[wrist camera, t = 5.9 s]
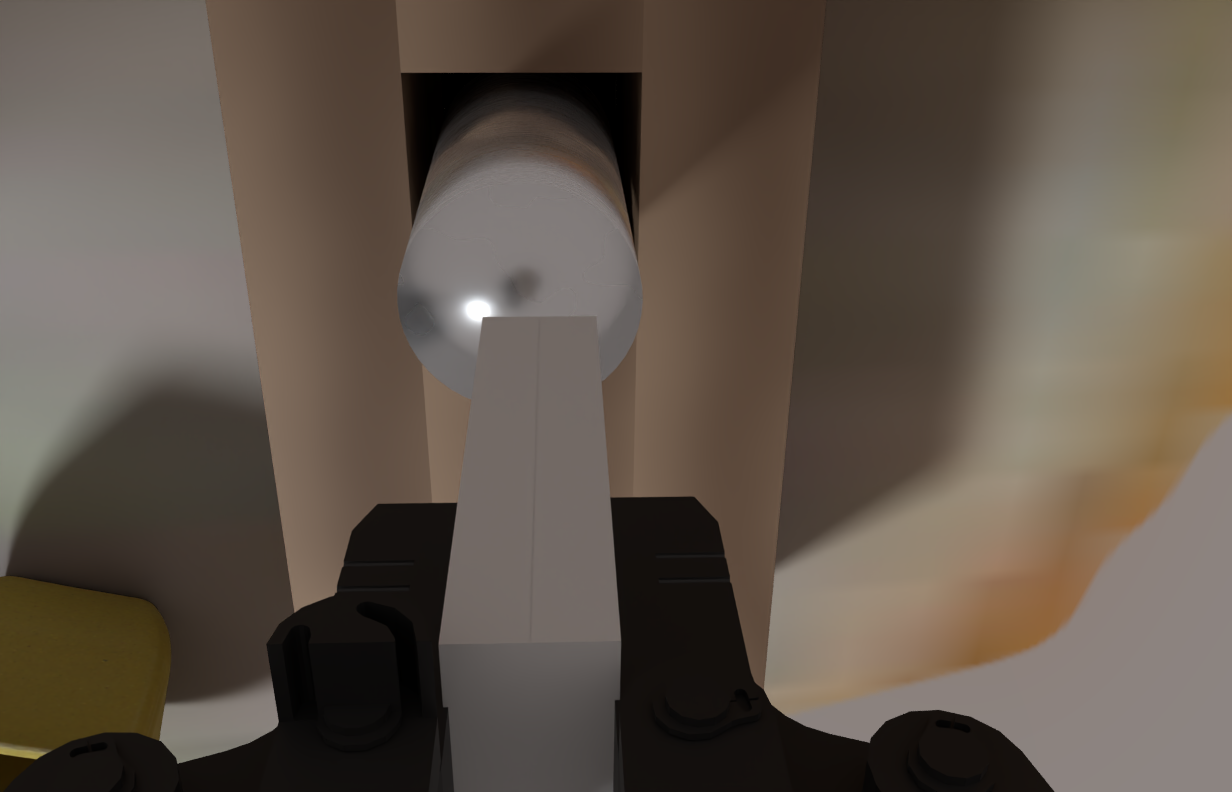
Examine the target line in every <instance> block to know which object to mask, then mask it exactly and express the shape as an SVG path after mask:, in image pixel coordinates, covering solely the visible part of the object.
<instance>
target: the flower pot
mask: <svg viewBox="0 0 1232 792" xmlns="http://www.w3.org/2000/svg"><path fill="white" fill-rule="evenodd" d="M170 667H171V643H170V636H169V632H168V629H167V626H166V624H165V622H164V619H163V617H162V616H161V614H160V612H159V611H158V610H157V608H156V607H155V606H154V605H153V604H152V603H150V602H148V601H146V600H143V599H139V598H134V597H127V596H122V595H116V594H110V593H104V592H98V591H93V590H87V589H81V588H75V587H69V586H64V585H59V584H54V583H48V582H42V581H37V580H32V579H26V578H22V577H16V576H3V577H0V792H3V791H4V790H5V789H6V788H7V787H8V785H9V784H10V783H11V782H12V781H13V780H14V779H15V778H16V777H17V776H18V775H19V774H20V773H22V772H23V771H24V770H25V769H26V768H27V767H29V766H30V765H31V764H32V763H33V762H34V761H35V760H37V759H38V758H39V757H40V756H42V755H44V754H46V753H48V752H50V751H52V750H54V749H56V748H58V747H60V746H62V745H64V744H66V743H68V742H70V741H72V740H76V739H80V738H84V737H88V736H92V735H96V734H100V733H104V732H132V733H139V734H142V735H144V736H147V737H150V738H153V739H156V740H158V741H159V738H160V731H161V724H162V718H163V712H164V705H165V699H166V693H167V687H168V681H169V675H170Z"/></svg>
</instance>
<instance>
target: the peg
mask: <svg viewBox="0 0 1232 792" xmlns="http://www.w3.org/2000/svg"><path fill="white" fill-rule="evenodd" d="M642 303H643V295H642V283H641V278H640V272H639V267H638V262H637V257H636V252H635V247H634V242H633V237H632V232H631V227H630V222H629V217H628V213H627V208H626V203H625V198H624V193H623V188H622V183H621V178H620V173H619V168H618V163H617V158H616V153H615V148H614V143H613V138H612V133H611V128H610V124H609V121H608V118H607V115H606V113H605V111H604V109H603V107H602V105H601V104H600V102H599V101H598V99H597V98H596V96H595V95H594V94H593V93H592V92H591V91H590V89H589V88H588V87H587V86H586V85H584V84H583V83H582V82H581V81H580V80H579V79H577V78H576V77H574V76H573V75H571V74H570V73H480V74H479V75H477V76H476V77H474V78H473V79H471V80H470V81H469V82H468V83H467V84H466V85H465V86H464V87H463V88H462V89H461V90H460V91H459V92H458V94H457V95H456V96H455V97H454V99H453V101H452V102H451V104H450V106H449V108H448V110H447V112H446V114H445V117H444V120H443V124H442V127H441V131H440V134H439V138H438V141H437V144H436V148H435V151H434V155H433V158H432V162H431V165H430V169H429V172H428V176H427V179H426V183H425V186H424V189H423V193H422V196H421V200H420V203H419V207H418V210H417V214H416V217H415V221H414V224H413V228H412V231H411V235H410V238H409V241H408V245H407V248H406V252H405V255H404V259H403V262H402V266H401V269H400V273H399V279H398V287H397V304H398V311H399V317H400V321H401V324H402V328H403V331H404V334H405V336H406V338H407V340H408V342H409V345H410V347H411V348H412V350H413V351H414V353H415V355H416V356H417V358H418V359H419V360H420V362H421V363H422V364H423V365H424V366H425V368H426V369H427V370H428V371H429V372H430V373H431V374H432V375H433V376H434V377H435V378H437V379H438V380H439V381H440V382H441V383H443V384H444V385H446V386H447V387H448V388H450V389H451V390H453V391H455V392H457V393H458V394H460V395H462V396H464V397H466V398H468V399H472V392H473V384H474V377H475V369H476V362H477V355H478V347H479V340H480V332H481V325H482V317H546V316H597V330H598V343H599V356H600V369H601V382H602V381H603V380H605V379H606V378H607V377H608V376H609V375H610V374H611V373H612V372H613V371H614V370H615V369H616V368H617V367H618V365H619V364H620V363H621V361H622V360H623V359H624V357H625V356H626V354H627V352H628V351H629V349H630V347H631V345H632V343H633V341H634V338H635V336H636V333H637V331H638V327H639V323H640V319H641V314H642Z"/></svg>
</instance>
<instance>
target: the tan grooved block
mask: <svg viewBox="0 0 1232 792" xmlns="http://www.w3.org/2000/svg"><path fill="white" fill-rule="evenodd" d="M205 1H206V8H207V14H208V21H209V28H210V35H211V42H212V49H213V56H214V63H215V70H216V76H217V83H218V90H219V97H220V104H221V111H222V118H223V125H224V131H225V138H226V145H227V152H228V159H229V166H230V173H231V180H232V186H233V193H234V200H235V207H236V214H237V221H238V228H239V235H240V241H241V248H242V255H243V262H244V269H245V276H246V283H247V290H248V296H249V303H250V310H251V317H252V324H253V331H254V338H255V345H256V351H257V358H258V365H259V372H260V379H261V386H262V393H263V400H264V406H265V413H266V420H267V427H268V434H269V441H270V448H271V455H272V461H273V468H274V475H275V482H276V489H277V496H278V503H279V510H280V516H281V523H282V530H283V537H284V544H285V551H286V558H287V565H288V571H289V578H290V585H291V592H292V599H293V606H294V613H295V612H296V611H298V610H299V609H300V608H302V607H304V606H307V605H310V604H312V603H315V602H317V601H320V600H323V599H325V598H328V597H330V596H334V595H335V593H337V584H338V580H339V576H340V572H341V569H342V567H343V566H344V558H345V554H346V550H347V546H348V543H349V539H350V535H351V532H352V530H353V529H354V528H355V527H356V526H357V525H358V524H359V523H360V522H361V521H362V519H363V518H364V517H365V516H366V515H367V514H368V513H369V512H370V511H371V510H372V509H373V508H374V507H375V506H376V505H377V504H389V503H458V496H459V488H460V481H461V473H462V466H463V459H464V451H465V444H466V436H467V429H468V421H469V414H470V407H471V399H468V398H466V397H464V396H462V395H460V394H458V393H457V392H455V391H453V390H451V389H450V388H448V387H447V386H446V385H444V384H443V383H441V382H440V381H439V380H438V379H437V378H435V377H434V376H433V375H432V374H431V373H430V372H429V371H428V370H427V369H426V368H425V366H424V365H423V364H422V363H421V362H420V360H419V359H418V358H417V356H416V355H415V353H414V351H413V350H412V348H411V347H410V345H409V342H408V340H407V338H406V336H405V334H404V331H403V328H402V324H401V321H400V317H399V311H398V304H397V287H398V279H399V273H400V269H401V266H402V262H403V259H404V255H405V252H406V248H407V245H408V241H409V238H410V235H411V231H412V228H413V224H414V221H415V217H416V214H417V210H418V207H419V203H420V200H421V196H422V193H423V189H424V186H425V183H426V179H427V176H428V172H429V169H430V165H431V162H432V158H433V155H434V151H435V148H436V144H437V141H438V138H439V134H440V131H441V127H442V124H443V120H444V118H443V100H442V83H441V73H592V72H616V104H615V153H616V158H617V163H618V168H619V173H620V178H621V183H622V188H623V193H624V198H625V203H626V208H627V213H628V217H629V222H630V227H631V232H632V237H633V242H634V247H635V252H636V257H637V262H638V267H639V272H640V278H641V283H642V295H643V303H642V314H641V319H640V323H639V327H638V331H637V333H636V336H635V338H634V341H633V343H632V345H631V347H630V349H629V351H628V352H627V354H626V356H625V357H624V359H623V360H622V361H621V363H620V364H619V365H618V367H617V368H616V369H615V370H614V371H613V372H612V373H611V374H610V375H609V376H608V377H607V378H606V379H605V380H603V381H602V396H603V409H604V422H605V435H606V448H607V462H608V475H609V488H610V497H684V496H694V497H695V498H696V499H697V500H698V501H699V502H700V503H701V504H702V505H703V506H704V507H705V508H706V510H707V511H708V512H709V513H710V514H711V515H712V516H713V517H714V518H715V519H716V520H717V521H718V523H719V528H720V532H721V537H722V542H723V546H724V551H725V558H726V560H727V564H728V569H729V574H730V583H732V587H733V592H734V597H735V601H736V606H737V610H738V615H739V620H740V624H741V629H742V633H743V638H744V642H745V647H746V652H747V656H748V661H749V665H750V670H751V674H752V676H753V679H754V681H755V683H756V684H757V685H759V686H760V687H761V688H762V689H763V690H764V680H765V669H766V658H767V647H768V636H769V625H770V614H771V603H772V592H773V581H774V570H775V559H776V548H777V537H778V526H779V516H780V505H781V494H782V483H783V472H784V461H785V450H786V439H787V428H788V417H789V406H790V395H791V384H792V373H793V362H794V351H795V340H796V329H797V318H798V307H799V296H800V285H801V274H802V263H803V252H804V241H805V230H806V219H807V208H808V197H809V186H810V175H811V164H812V153H813V142H814V131H815V121H816V110H817V99H818V88H819V77H820V66H821V55H822V44H823V33H824V22H825V11H826V0H205Z"/></svg>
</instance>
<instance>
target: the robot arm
mask: <svg viewBox="0 0 1232 792" xmlns="http://www.w3.org/2000/svg"><path fill="white" fill-rule="evenodd" d="M267 651H268V657H269V663H270V669H271V676H272V682H273V688H274V694H275V700H276V707H277V713H278V719H279V723H278V727H276V728H275V729H274V730H273V731H271V732H269V733H267V734H265V735H263V736H262V737H260V738H258V739H256V740H254V741H252V742H251V743H248V744H245V745H242V746H239V747H236V748H233V749H231V750H228V751H224V752H221V753H217V754H213V755H209V756H205V757H202V758H198V759H194V760H190V761H186V762H183V763H179V764H177V760H176V757H175V756H174V755H173V754H172V753H171V752H170V751H169V750H168V749H167V748H166V746H165V745H164V744H163V743H162V742H161V741H158V740H156V739H153V738H150V737H147V736H144V735H142V734H139V733H132V732H104V733H100V734H96V735H92V736H88V737H84V738H80V739H76V740H72V741H70V742H68V743H66V744H64V745H62V746H60V747H58V748H56V749H54V750H52V751H50V752H48V753H46V754H44V755H42V756H40V757H39V758H38V759H37V760H35V761H34V762H33V763H32V764H31V765H30V766H29V767H27V768H26V769H25V770H24V771H23V772H22V773H20V774H19V775H18V776H17V777H16V778H15V779H14V780H13V781H12V782H11V783H10V784H9V785H8V787H7V788H6V789H5V790H4V791H3V792H1054V791H1053V789H1052V788H1051V787H1050V786H1049V784H1048V783H1047V782H1046V781H1045V779H1044V778H1043V777H1042V776H1041V775H1040V773H1039V772H1038V771H1037V770H1036V768H1035V767H1034V766H1033V765H1032V763H1031V762H1030V761H1029V760H1028V758H1027V757H1026V756H1025V755H1024V753H1023V752H1022V751H1021V750H1020V749H1019V748H1018V747H1016V746H1015V745H1014V744H1013V743H1012V742H1011V741H1010V740H1009V739H1007V738H1006V737H1005V736H1004V735H1003V734H1002V733H1001V732H1000V731H998V730H996V729H994V728H992V727H990V726H988V725H986V724H984V723H982V722H980V721H978V720H976V719H974V718H972V717H969V716H964V715H960V714H955V713H950V712H946V711H941V710H932V711H911V712H908V713H906V714H903V715H900V716H898V717H895V718H893V719H890V720H888V721H886V722H885V723H884V724H883V725H882V726H881V727H880V728H879V730H878V731H877V732H876V733H875V734H874V735H873V737H871V741H870V743H868V742H864V741H859V740H855V739H850V738H846V737H841V736H837V735H832V734H828V733H825V732H822V731H819V730H816V729H812V728H809V727H806V726H804V725H802V724H800V723H798V722H796V721H794V720H793V719H791V718H789V717H787V716H785V715H784V714H782V713H781V712H780V711H779V710H777V709H776V708H775V707H774V706H772V705H771V703H770V701H769V699H768V697H767V695H766V693H765V691H764V690H763V689H762V688H761V687H760V686H759V685H757V684H756V683H755V681H754V679H753V676H752V674H751V670H750V665H749V661H748V656H747V652H746V647H745V642H744V638H743V633H742V629H741V624H740V620H739V615H738V610H737V606H736V601H735V597H734V592H733V587H732V583H730V574H729V569H728V564H727V560H726V558H725V551H724V546H723V542H722V537H721V532H720V528H719V523H718V521H717V520H716V519H715V518H714V517H713V516H712V515H711V514H710V513H709V512H708V511H707V510H706V508H705V507H704V506H703V505H702V504H701V503H700V502H699V501H698V500H697V499H696V498H695V497H694V496H684V497H610V488H609V475H608V462H607V448H606V435H605V422H604V409H603V396H602V382H601V369H600V356H599V343H598V330H597V316H546V317H482V325H481V332H480V340H479V347H478V355H477V362H476V369H475V377H474V384H473V392H472V399H471V407H470V414H469V421H468V429H467V436H466V444H465V451H464V459H463V466H462V473H461V481H460V488H459V496H458V503H389V504H377V505H376V506H375V507H374V508H373V509H372V510H371V511H370V512H369V513H368V514H367V515H366V516H365V517H364V518H363V519H362V521H361V522H360V523H359V524H358V525H357V526H356V527H355V528H354V529H353V530H352V532H351V535H350V539H349V543H348V546H347V550H346V554H345V558H344V566H343V567H342V569H341V572H340V576H339V580H338V584H337V593H335V595H334V596H330V597H328V598H325V599H323V600H320V601H317V602H315V603H312V604H310V605H307V606H304V607H302V608H300V609H299V610H298V611H296V612H295V613H294V614H292V615H291V616H290V617H288V618H287V619H286V620H284V621H283V622H282V623H280V624H279V625H278V627H277V629H276V630H275V632H274V633H273V635H272V636H271V638H270V640H269V641H268V643H267Z"/></svg>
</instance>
